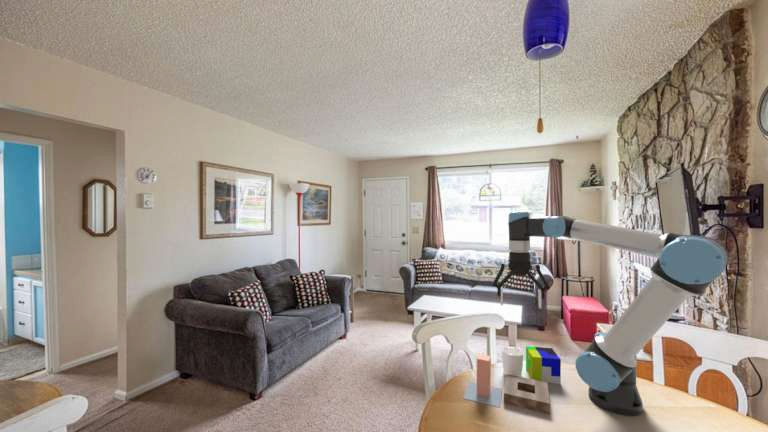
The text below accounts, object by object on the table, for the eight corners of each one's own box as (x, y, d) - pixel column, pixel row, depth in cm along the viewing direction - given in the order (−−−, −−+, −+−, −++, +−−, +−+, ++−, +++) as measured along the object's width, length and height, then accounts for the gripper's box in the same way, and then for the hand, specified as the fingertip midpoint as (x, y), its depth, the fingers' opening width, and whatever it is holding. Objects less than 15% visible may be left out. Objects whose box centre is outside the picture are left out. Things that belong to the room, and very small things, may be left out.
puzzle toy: (560, 385, 118) (560, 359, 118) (532, 382, 120) (532, 356, 120) (551, 372, 128) (551, 348, 128) (525, 369, 130) (526, 346, 130)
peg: (490, 391, 112) (490, 356, 112) (489, 398, 109) (489, 361, 108) (478, 389, 114) (478, 354, 114) (476, 395, 110) (476, 358, 110)
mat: (502, 390, 114) (502, 388, 114) (499, 409, 103) (499, 407, 103) (469, 383, 119) (469, 381, 119) (463, 399, 108) (463, 398, 108)
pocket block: (547, 393, 113) (547, 382, 113) (549, 415, 100) (550, 403, 100) (505, 384, 118) (506, 373, 118) (503, 404, 106) (503, 393, 106)
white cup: (502, 379, 122) (502, 353, 122) (501, 369, 130) (501, 345, 130) (524, 382, 120) (524, 356, 120) (521, 372, 127) (521, 348, 127)
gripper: (554, 251, 119) (555, 306, 119) (486, 249, 128) (487, 301, 128) (557, 253, 112) (558, 311, 112) (485, 251, 121) (486, 305, 121)
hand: (520, 306), depth 120 cm, fingers open, 13 cm apart
